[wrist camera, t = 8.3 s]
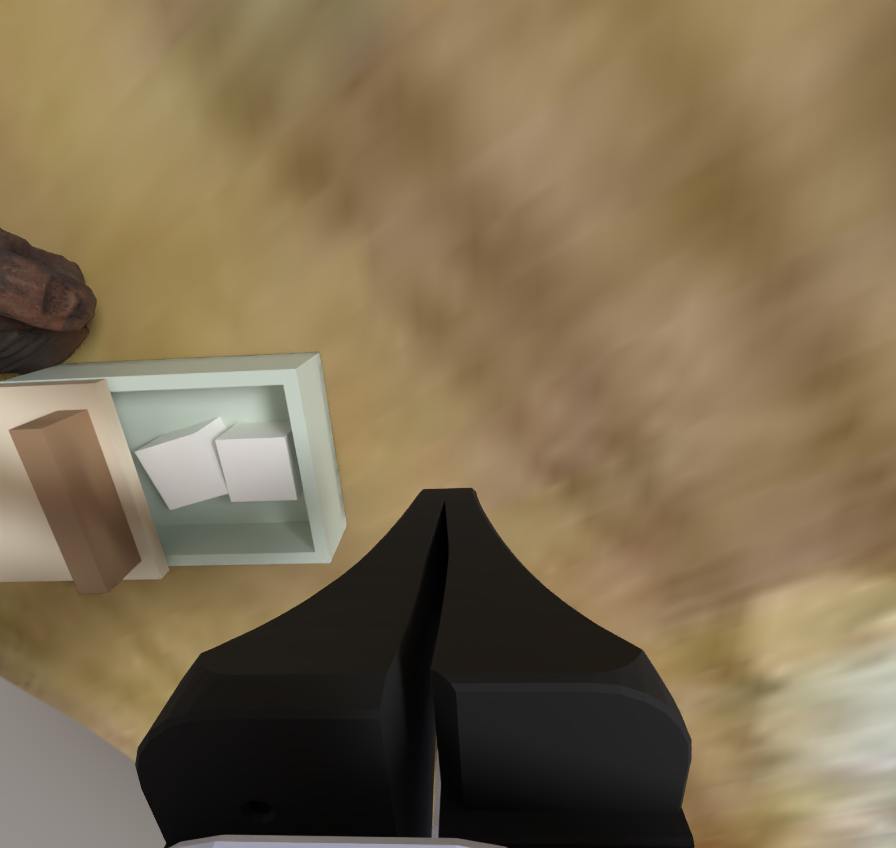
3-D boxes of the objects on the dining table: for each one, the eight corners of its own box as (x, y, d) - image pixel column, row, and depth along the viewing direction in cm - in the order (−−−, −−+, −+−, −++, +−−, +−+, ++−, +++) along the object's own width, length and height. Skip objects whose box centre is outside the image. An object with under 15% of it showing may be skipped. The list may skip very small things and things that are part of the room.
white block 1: (249, 472, 22) (228, 493, 20) (194, 488, 22) (169, 510, 20) (219, 416, 21) (195, 433, 19) (163, 434, 21) (134, 452, 19)
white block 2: (311, 478, 22) (297, 500, 20) (250, 480, 22) (230, 501, 20) (300, 420, 21) (284, 437, 19) (237, 422, 21) (214, 439, 19)
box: (346, 525, 23) (330, 562, 21) (122, 530, 24) (77, 567, 21) (319, 352, 20) (295, 368, 17) (62, 363, 21) (-1, 381, 18)
